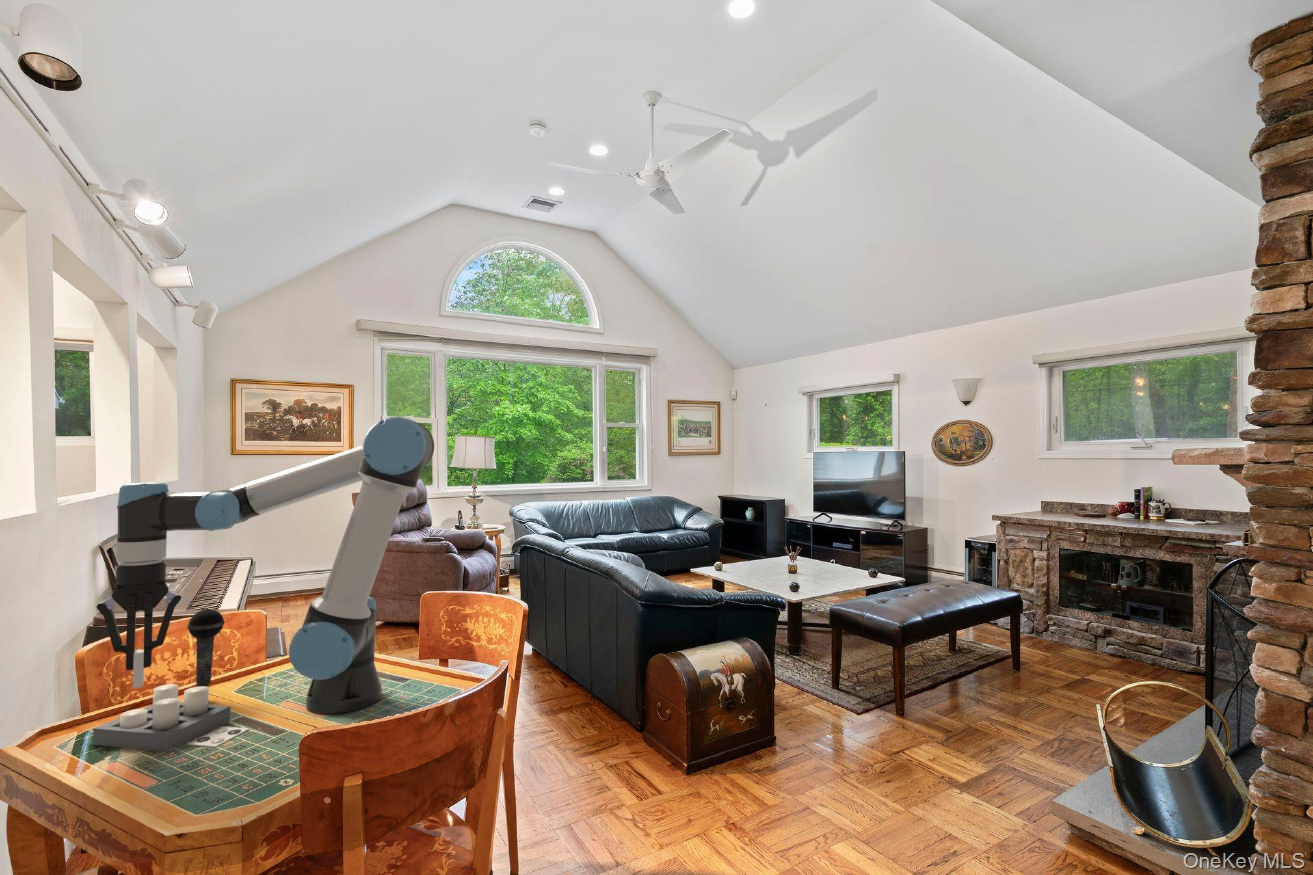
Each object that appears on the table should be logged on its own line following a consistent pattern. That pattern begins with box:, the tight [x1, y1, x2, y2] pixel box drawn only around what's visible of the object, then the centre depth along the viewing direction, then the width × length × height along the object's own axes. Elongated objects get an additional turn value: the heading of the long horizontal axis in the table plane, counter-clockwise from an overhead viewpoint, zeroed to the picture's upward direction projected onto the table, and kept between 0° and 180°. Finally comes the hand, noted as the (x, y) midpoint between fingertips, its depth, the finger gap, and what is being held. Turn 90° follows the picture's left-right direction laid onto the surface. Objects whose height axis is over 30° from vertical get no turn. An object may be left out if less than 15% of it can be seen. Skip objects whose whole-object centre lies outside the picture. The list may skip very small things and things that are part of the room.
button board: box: [92, 701, 232, 752], centre depth 123 cm, size 16×14×3 cm
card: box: [186, 725, 250, 748], centre depth 122 cm, size 6×8×1 cm
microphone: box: [186, 608, 226, 687], centre depth 141 cm, size 7×7×20 cm
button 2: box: [152, 683, 179, 713], centre depth 127 cm, size 4×4×4 cm
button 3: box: [152, 697, 181, 730], centre depth 120 cm, size 4×4×4 cm
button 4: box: [183, 686, 210, 717], centre depth 126 cm, size 4×4×4 cm
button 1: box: [119, 708, 147, 728], centre depth 121 cm, size 4×4×4 cm
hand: (138, 685), depth 121 cm, fingers closed
